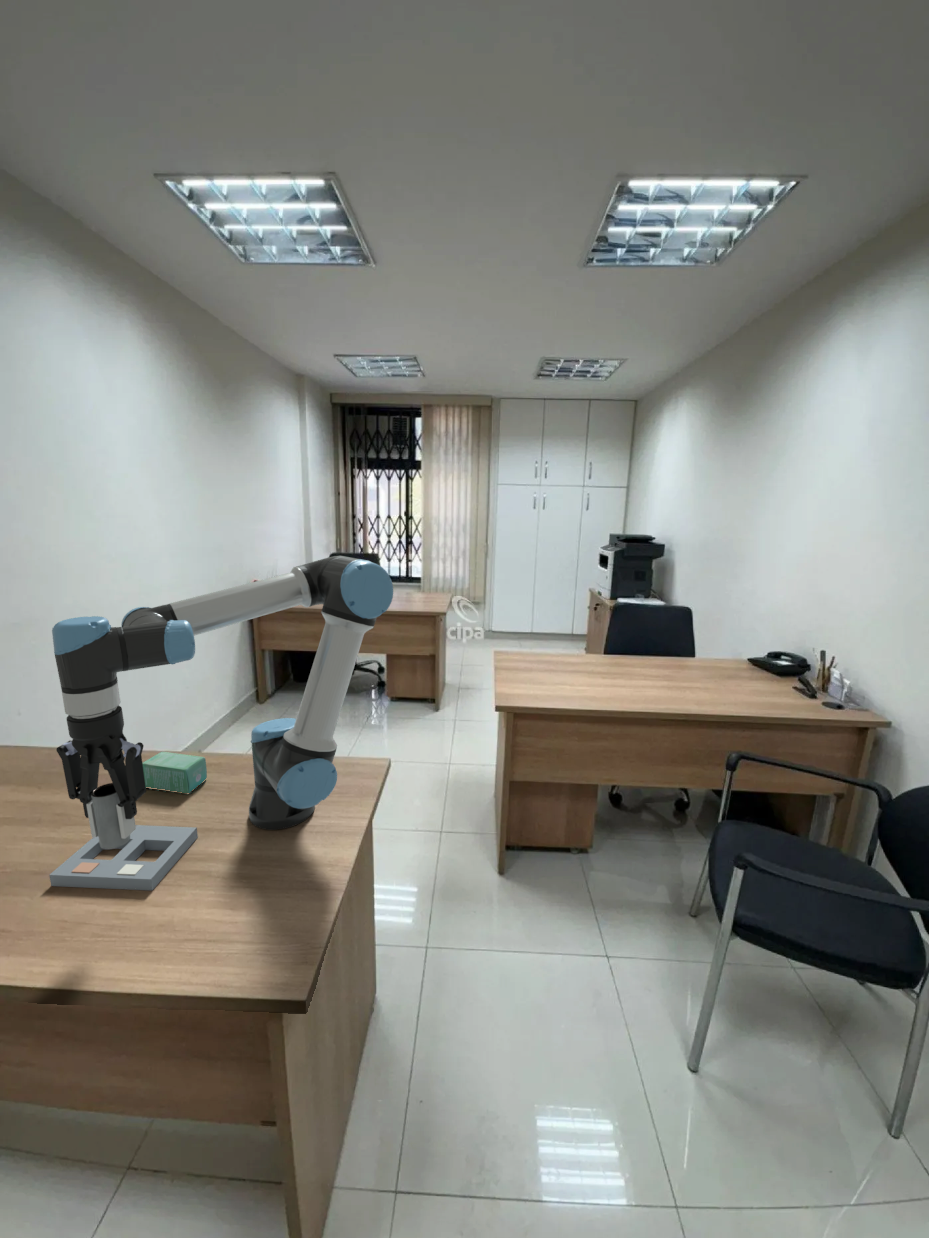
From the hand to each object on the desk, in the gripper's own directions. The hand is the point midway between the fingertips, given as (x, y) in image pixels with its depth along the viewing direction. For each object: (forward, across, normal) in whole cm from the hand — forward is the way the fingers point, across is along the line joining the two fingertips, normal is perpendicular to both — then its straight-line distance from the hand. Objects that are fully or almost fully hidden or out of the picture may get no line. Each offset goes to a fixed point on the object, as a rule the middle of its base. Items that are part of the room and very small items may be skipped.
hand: (114, 832), depth 89 cm
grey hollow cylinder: (+2, 0, 0) cm, 2 cm away
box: (+17, +16, -41) cm, 47 cm away
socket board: (+16, +8, -13) cm, 22 cm away
